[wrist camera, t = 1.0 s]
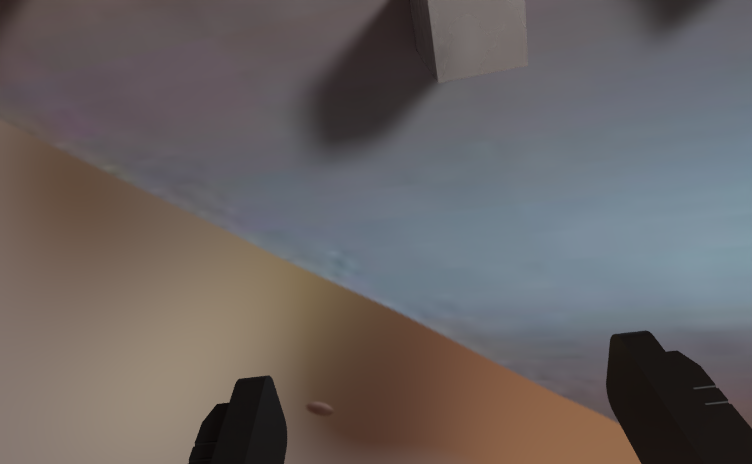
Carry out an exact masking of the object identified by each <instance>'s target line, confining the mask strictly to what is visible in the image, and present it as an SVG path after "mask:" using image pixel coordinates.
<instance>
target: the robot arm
mask: <svg viewBox="0 0 752 464" xmlns="http://www.w3.org/2000/svg"><path fill="white" fill-rule="evenodd" d="M606 389H607V395H608V399H609V403H610V405H611V408H612V410H613V412H614V414H615V416H616V418H617V419H618V421H619V423H620V425H621V427H622V429H623V430H624V432H625V434H626V436H627V438H628V440H629V442H630V443H631V445H632V447H633V449H634V451H635V453H636V454H637V456H638V458H639V460H640V462H641V464H752V429H751V427H750V426H749V425H748V424H747V422H746V421H745V420H744V419H743V418H742V416H741V415H740V414H739V413H738V411H737V410H736V409H735V408H734V407H733V405H732V404H729V403H728V399H727V398H726V397H725V396H724V394H723V393H722V392H721V391H720V389H719V388H716V386H715V383H714V382H713V381H712V380H711V378H710V377H709V376H708V375H707V374H706V372H705V371H704V370H703V369H702V368H701V366H700V365H698V364H697V363H695V362H694V361H692V360H691V359H689V358H688V357H686V356H685V355H683V354H682V353H680V352H679V351H669V352H665V350H664V349H663V348H662V346H661V345H660V344H659V342H658V341H657V340H656V339H655V337H654V336H653V335H652V334H651V333H650V332H649V331H638V332H629V333H621V334H614V335H612V337H611V339H610V347H609V358H608V369H607V379H606ZM286 447H287V426H286V421H285V417H284V414H283V411H282V408H281V405H280V401H279V398H278V395H277V392H276V388H275V385H274V382H273V379H272V378H271V377H270V376H260V377H251V378H243V379H238V381H237V382H236V384H235V387H234V390H233V393H232V396H231V399H230V402H229V403H222V404H217V405H216V406H215V407H214V409H213V410H212V411H211V412H210V413H209V415H208V416H207V417H206V418H205V420H204V421H203V422H202V425H201V427H200V430H199V433H198V436H197V438H196V441H195V447H193V449H192V452H191V455H190V457H189V464H284V460H285V453H286Z"/></svg>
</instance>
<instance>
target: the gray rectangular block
mask: <svg viewBox="0 0 752 464" xmlns="http://www.w3.org/2000/svg"><path fill="white" fill-rule="evenodd" d="M410 7H411V14H412V21H413V28H414V35H415V42H416V49H417V52H418V53H419V55H420V56H421V58H422V59H423V61H424V62H425V64H426V65H427V67H428V68H429V70H430V71H431V73H432V74H433V76H434V77H435V79H436V80H437V82H438V83H441V82H446V81H452V80H457V79H462V78H467V77H472V76H477V75H482V74H488V73H493V72H498V71H503V70H508V69H513V68H518V67H523V66H528V56H527V34H526V12H525V0H410Z"/></svg>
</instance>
